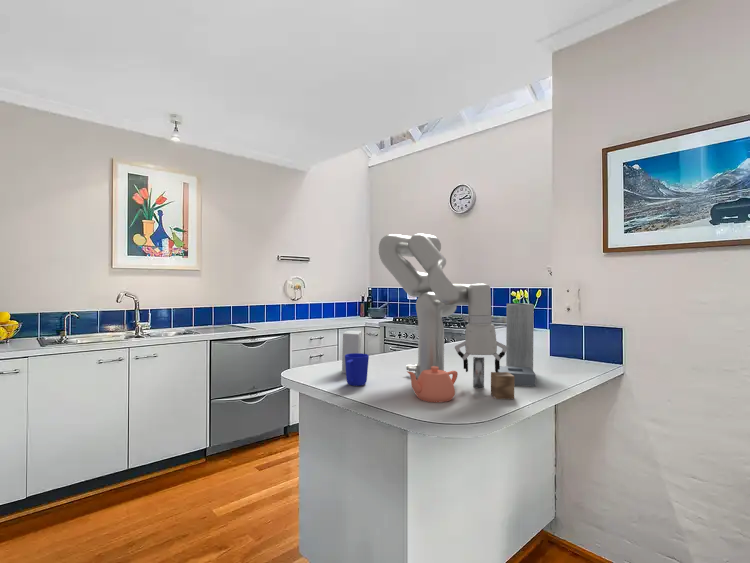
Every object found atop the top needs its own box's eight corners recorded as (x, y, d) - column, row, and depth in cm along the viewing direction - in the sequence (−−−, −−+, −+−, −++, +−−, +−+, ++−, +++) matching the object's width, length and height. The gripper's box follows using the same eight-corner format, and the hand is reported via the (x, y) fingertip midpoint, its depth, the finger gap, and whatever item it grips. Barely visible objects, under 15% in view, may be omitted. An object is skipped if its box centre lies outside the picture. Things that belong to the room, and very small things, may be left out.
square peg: (496, 399, 125) (496, 376, 125) (490, 394, 131) (490, 372, 131) (514, 399, 126) (514, 376, 126) (507, 394, 131) (508, 372, 131)
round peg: (473, 388, 138) (473, 358, 138) (473, 385, 142) (473, 356, 142) (484, 388, 137) (484, 358, 137) (483, 386, 141) (484, 356, 141)
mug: (335, 388, 136) (336, 358, 136) (350, 380, 147) (350, 352, 147) (358, 391, 133) (359, 360, 133) (371, 382, 144) (372, 354, 144)
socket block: (499, 384, 144) (499, 372, 144) (496, 376, 156) (497, 365, 156) (535, 386, 141) (535, 374, 141) (530, 378, 153) (530, 367, 153)
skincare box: (346, 368, 167) (346, 330, 167) (362, 369, 166) (362, 330, 166) (341, 373, 159) (341, 332, 159) (358, 374, 158) (358, 333, 158)
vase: (537, 372, 163) (537, 303, 163) (527, 376, 155) (527, 304, 155) (512, 368, 169) (512, 302, 169) (501, 372, 162) (502, 303, 162)
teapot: (468, 400, 124) (468, 368, 124) (416, 407, 117) (416, 373, 117) (445, 390, 135) (446, 361, 135) (396, 396, 128) (397, 365, 128)
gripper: (453, 321, 138) (454, 373, 137) (507, 321, 134) (509, 374, 133) (454, 319, 145) (455, 369, 144) (505, 319, 141) (507, 369, 141)
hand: (481, 371), depth 139 cm, fingers open, 9 cm apart
